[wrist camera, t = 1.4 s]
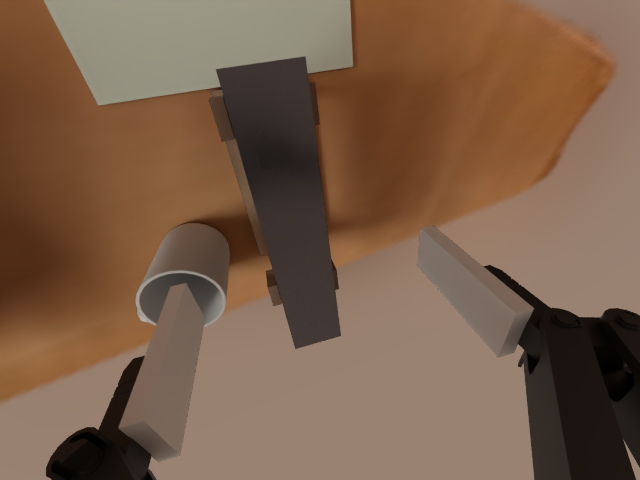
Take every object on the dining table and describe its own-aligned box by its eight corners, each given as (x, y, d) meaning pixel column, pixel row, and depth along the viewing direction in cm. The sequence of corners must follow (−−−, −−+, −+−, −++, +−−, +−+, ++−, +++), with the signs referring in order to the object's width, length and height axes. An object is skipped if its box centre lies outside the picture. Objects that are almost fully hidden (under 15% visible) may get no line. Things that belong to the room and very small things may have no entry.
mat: (100, 105, 22) (98, 105, 22) (42, -7, 18) (38, -9, 18) (351, 66, 25) (353, 66, 25) (346, -38, 21) (348, -40, 21)
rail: (286, 299, 28) (295, 348, 23) (224, 70, 17) (215, 69, 12) (323, 289, 28) (340, 335, 23) (287, 61, 17) (305, 56, 12)
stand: (260, 251, 33) (265, 309, 25) (211, 90, 24) (194, 99, 15) (322, 237, 34) (346, 287, 26) (300, 77, 25) (327, 78, 16)
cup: (243, 251, 33) (242, 303, 25) (179, 294, 34) (161, 356, 26) (198, 208, 29) (182, 255, 21) (128, 259, 30) (89, 320, 22)
